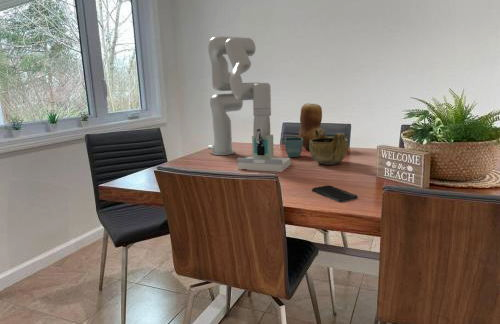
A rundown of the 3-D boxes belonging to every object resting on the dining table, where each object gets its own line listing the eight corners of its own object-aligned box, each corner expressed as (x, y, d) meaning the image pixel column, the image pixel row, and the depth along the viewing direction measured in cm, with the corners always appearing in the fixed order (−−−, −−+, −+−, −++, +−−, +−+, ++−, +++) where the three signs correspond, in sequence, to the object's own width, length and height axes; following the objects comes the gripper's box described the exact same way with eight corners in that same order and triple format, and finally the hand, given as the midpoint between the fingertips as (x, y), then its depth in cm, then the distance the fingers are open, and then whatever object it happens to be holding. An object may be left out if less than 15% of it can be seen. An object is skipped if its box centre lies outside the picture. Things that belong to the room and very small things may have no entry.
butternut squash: (327, 150, 194) (327, 103, 188) (304, 152, 191) (304, 104, 185) (315, 146, 207) (316, 102, 202) (294, 148, 204) (293, 103, 198)
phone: (328, 185, 127) (359, 196, 114) (328, 188, 128) (358, 199, 115) (310, 188, 124) (339, 200, 111) (310, 191, 124) (339, 203, 111)
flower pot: (302, 154, 185) (302, 137, 183) (303, 158, 176) (303, 140, 174) (285, 154, 186) (284, 137, 184) (285, 158, 177) (284, 140, 175)
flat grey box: (237, 169, 158) (237, 158, 157) (249, 162, 171) (249, 152, 170) (281, 172, 151) (281, 160, 150) (290, 164, 164) (290, 153, 163)
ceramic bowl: (358, 167, 155) (359, 132, 152) (322, 170, 151) (322, 135, 148) (333, 157, 176) (333, 126, 173) (301, 160, 172) (301, 128, 169)
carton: (256, 156, 162) (256, 134, 160) (273, 157, 160) (273, 134, 157) (252, 158, 158) (251, 136, 156) (269, 159, 155) (269, 136, 153)
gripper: (260, 110, 163) (261, 150, 167) (246, 114, 148) (248, 157, 152) (276, 110, 161) (276, 150, 165) (264, 114, 145) (265, 158, 149)
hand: (263, 153), depth 158 cm, fingers closed on carton, 5 cm apart
